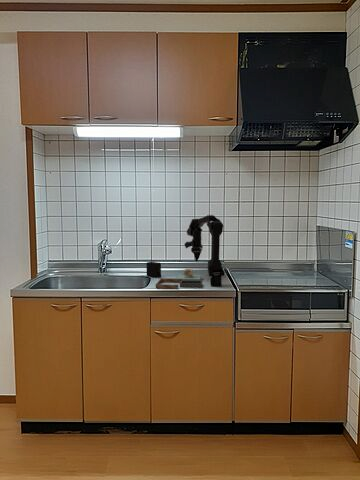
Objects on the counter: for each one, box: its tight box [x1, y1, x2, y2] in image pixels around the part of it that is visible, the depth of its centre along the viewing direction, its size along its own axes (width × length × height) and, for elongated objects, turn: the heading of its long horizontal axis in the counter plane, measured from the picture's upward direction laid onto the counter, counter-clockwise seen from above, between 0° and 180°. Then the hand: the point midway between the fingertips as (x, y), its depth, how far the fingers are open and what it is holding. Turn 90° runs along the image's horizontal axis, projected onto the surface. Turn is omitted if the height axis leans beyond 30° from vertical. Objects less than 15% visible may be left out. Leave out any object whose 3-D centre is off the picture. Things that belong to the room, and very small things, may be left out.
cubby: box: [155, 277, 182, 290], centre depth 252 cm, size 14×18×2 cm
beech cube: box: [183, 268, 194, 278], centre depth 267 cm, size 5×5×5 cm
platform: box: [175, 274, 202, 281], centre depth 268 cm, size 16×12×2 cm
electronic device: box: [145, 261, 162, 279], centre depth 278 cm, size 4×10×10 cm, turn 49°
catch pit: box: [179, 280, 203, 289], centre depth 251 cm, size 13×8×2 cm, turn 83°
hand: (197, 260), depth 274 cm, fingers open, 9 cm apart
